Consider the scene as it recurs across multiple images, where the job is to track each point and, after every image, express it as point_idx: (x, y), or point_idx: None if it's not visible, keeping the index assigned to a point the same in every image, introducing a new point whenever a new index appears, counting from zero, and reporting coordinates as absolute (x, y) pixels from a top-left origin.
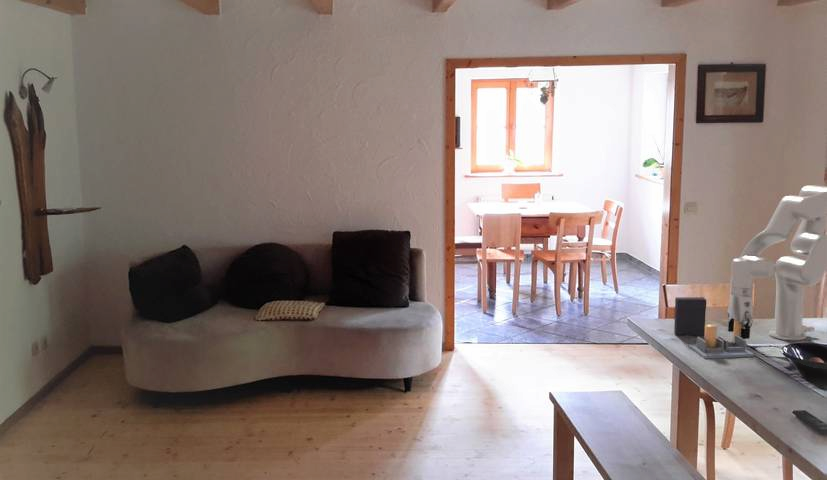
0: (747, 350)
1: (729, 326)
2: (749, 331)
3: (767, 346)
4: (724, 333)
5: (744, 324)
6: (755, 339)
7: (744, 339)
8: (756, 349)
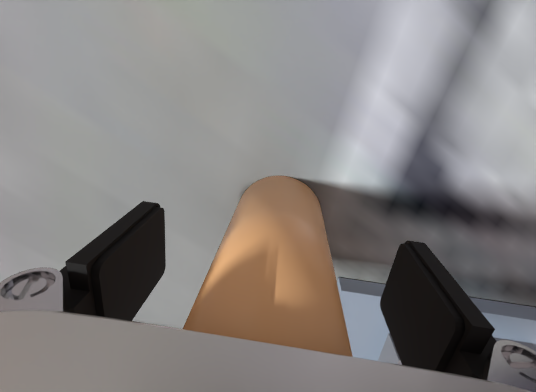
0: (533, 325)
1: (137, 307)
2: (463, 298)
3: (474, 48)
4: (39, 175)
5: (348, 342)
6: (235, 13)
7: (315, 205)
8: (487, 203)
